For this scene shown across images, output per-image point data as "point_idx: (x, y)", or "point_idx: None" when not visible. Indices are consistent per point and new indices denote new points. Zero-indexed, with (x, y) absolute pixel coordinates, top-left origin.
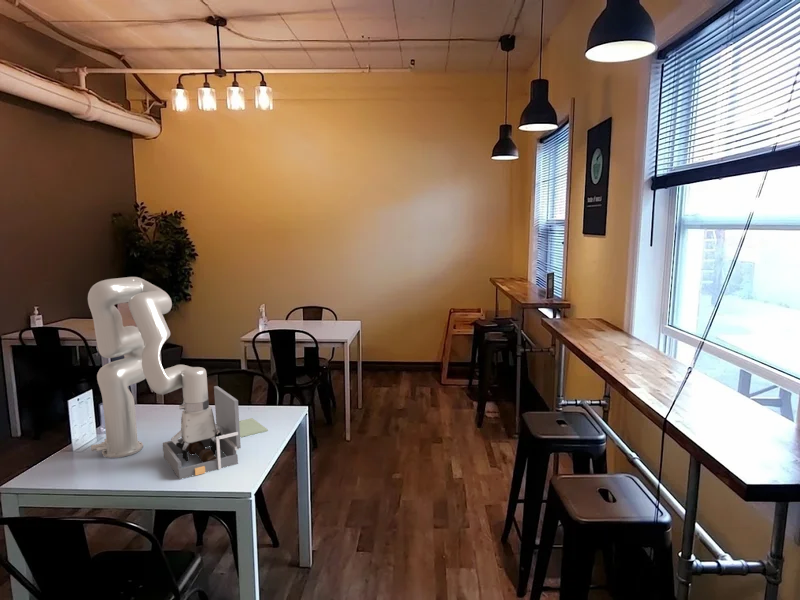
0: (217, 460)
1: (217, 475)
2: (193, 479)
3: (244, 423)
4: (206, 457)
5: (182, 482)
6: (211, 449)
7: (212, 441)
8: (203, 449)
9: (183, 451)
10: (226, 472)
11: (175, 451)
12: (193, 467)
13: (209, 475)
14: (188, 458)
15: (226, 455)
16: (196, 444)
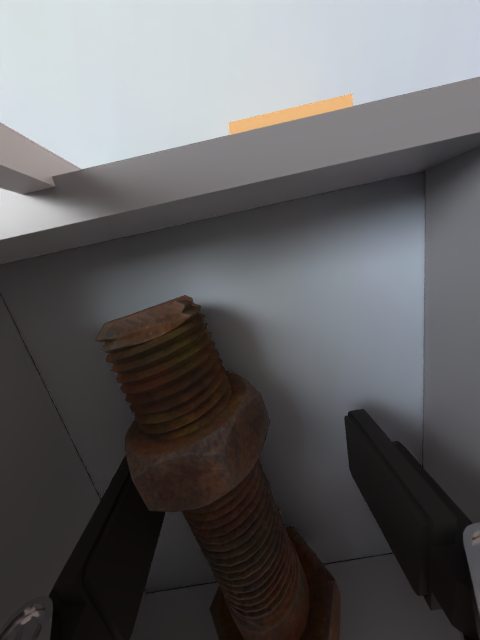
0: (56, 178)
1: (119, 39)
2: (347, 62)
3: None
4: (197, 357)
5: (452, 38)
6: (149, 518)
7: (75, 636)
8: (216, 521)
9: (459, 515)
10: (32, 76)
11: (390, 588)
12: (377, 106)
13: (197, 86)
14: (356, 430)
15: (61, 433)
16: (271, 627)
